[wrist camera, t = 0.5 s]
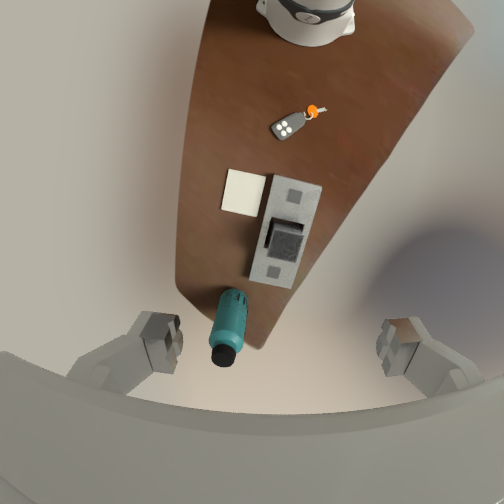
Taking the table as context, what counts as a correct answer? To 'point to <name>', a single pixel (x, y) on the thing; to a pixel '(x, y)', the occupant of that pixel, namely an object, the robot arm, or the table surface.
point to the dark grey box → (284, 240)
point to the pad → (243, 192)
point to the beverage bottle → (228, 327)
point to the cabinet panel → (292, 209)
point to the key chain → (293, 122)
